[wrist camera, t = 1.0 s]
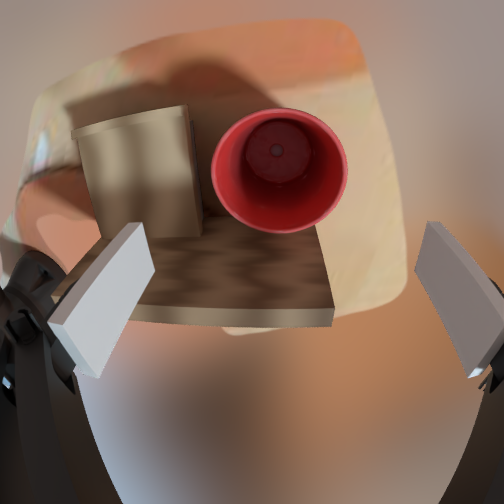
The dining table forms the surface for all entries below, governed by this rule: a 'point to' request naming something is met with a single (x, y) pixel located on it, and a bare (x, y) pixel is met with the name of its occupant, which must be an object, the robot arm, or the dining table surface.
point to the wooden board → (230, 278)
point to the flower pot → (279, 170)
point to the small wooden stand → (143, 173)
